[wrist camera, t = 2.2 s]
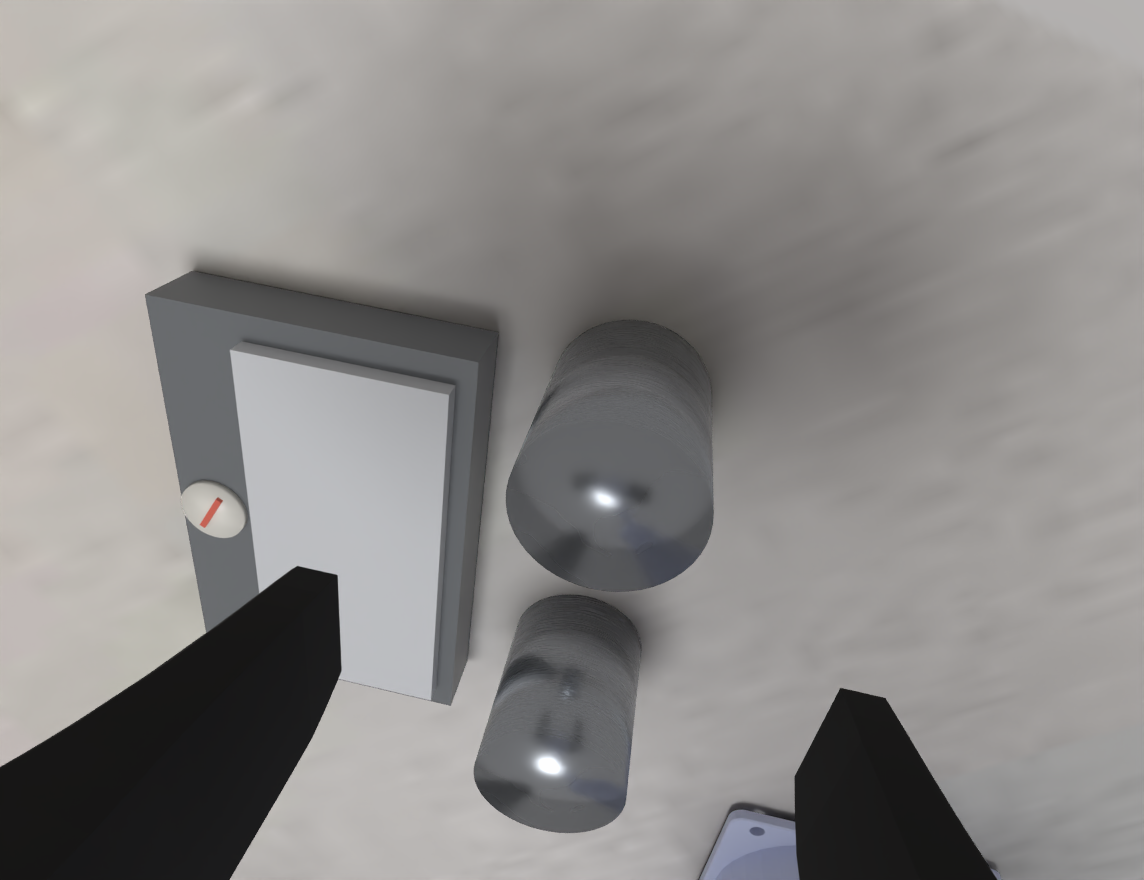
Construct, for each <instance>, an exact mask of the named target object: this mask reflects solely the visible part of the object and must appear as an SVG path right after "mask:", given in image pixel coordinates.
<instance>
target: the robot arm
mask: <svg viewBox="0 0 1144 880" xmlns="http://www.w3.org/2000/svg"><path fill="white" fill-rule="evenodd" d="M341 671H342V666H341V642H340V618H339V594H338V575H336V574H332V573H327V572H323V571H318V570H314V569H309V568H305V567H300V566H296V567H295V568H293V569H291V570H290V571H288V572H287V573H286V574H284V575H283V576H282V577H280V578H279V579H278V580H276V581H275V582H274V583H272V584H271V585H270V586H268V587H267V588H266V589H264V590H263V591H262V592H260V593H259V594H258V595H256V596H255V597H254V598H253V599H251V600H250V601H249V602H247V603H246V604H245V605H243V606H242V607H241V608H239V609H238V610H237V611H235V612H234V613H233V614H231V615H230V616H229V617H227V618H226V619H224V620H223V621H222V622H220V623H219V624H218V625H216V626H215V627H214V628H212V629H211V630H210V631H208V632H207V633H206V634H204V635H203V636H201V637H200V638H199V639H197V640H196V641H194V642H193V643H192V644H190V645H189V646H187V647H186V648H184V649H183V650H182V651H180V652H179V653H177V654H176V655H175V656H173V657H172V658H170V659H169V660H168V661H166V662H165V663H163V664H162V665H161V666H159V667H158V668H156V669H155V670H154V671H152V672H151V673H149V674H148V675H146V676H145V677H143V678H142V679H140V680H139V681H137V682H136V683H134V684H133V685H131V686H130V687H128V688H127V689H125V690H124V691H122V692H121V693H119V694H118V695H116V696H114V697H113V698H111V699H110V700H108V701H107V702H105V703H104V704H102V705H101V706H99V707H98V708H96V709H95V710H93V711H92V712H90V713H89V714H87V715H86V716H84V717H82V718H81V719H79V720H78V721H76V722H75V723H73V724H71V725H70V726H68V727H67V728H65V729H63V730H62V731H60V732H58V733H57V734H55V735H54V736H52V737H50V738H49V739H47V740H45V741H44V742H42V743H40V744H39V745H37V746H35V747H34V748H32V749H30V750H29V751H27V752H25V753H24V754H22V755H20V756H19V757H17V758H15V759H13V760H12V761H10V762H8V763H6V764H5V765H3V766H1V767H0V880H230V878H231V876H232V874H233V873H234V871H235V869H236V868H237V866H238V864H239V863H240V861H241V859H242V857H243V856H244V854H245V852H246V851H247V849H248V847H249V845H250V844H251V842H252V840H253V839H254V837H255V835H256V834H257V832H258V830H259V828H260V827H261V825H262V823H263V822H264V820H265V818H266V817H267V815H268V813H269V811H270V810H271V808H272V806H273V805H274V803H275V801H276V800H277V798H278V796H279V794H280V793H281V791H282V789H283V788H284V786H285V784H286V782H287V781H288V779H289V777H290V775H291V774H292V772H293V770H294V769H295V767H296V765H297V763H298V762H299V760H300V758H301V756H302V755H303V753H304V751H305V749H306V748H307V746H308V744H309V742H310V741H311V739H312V737H313V735H314V733H315V730H316V728H317V726H318V724H319V722H320V719H321V717H322V715H323V713H324V711H325V708H326V706H327V704H328V702H329V699H330V697H331V695H332V692H333V690H334V688H335V685H336V683H337V681H338V678H339V676H340V674H341ZM699 880H1002V879H1001V876H1000V873H998V872H997V871H996V870H993V869H991V868H990V867H989V866H988V864H987V863H986V861H985V859H984V858H983V856H982V855H981V853H980V852H979V850H978V849H977V847H976V845H975V844H974V842H973V841H972V839H971V838H970V836H969V835H968V833H967V832H966V830H965V828H964V827H963V825H962V824H961V822H960V820H959V819H958V817H957V816H956V814H955V812H954V811H953V809H952V807H951V806H950V804H949V803H948V801H947V799H946V798H945V796H944V794H943V793H942V791H941V789H940V788H939V786H938V784H937V783H936V781H935V780H934V778H933V776H932V775H931V773H930V771H929V770H928V768H927V766H926V765H925V763H924V761H923V760H922V758H921V756H920V755H919V753H918V751H917V750H916V748H915V746H914V745H913V743H912V741H911V740H910V738H909V736H908V735H907V733H906V731H905V730H904V728H903V726H902V725H901V723H900V721H899V720H898V718H897V716H896V715H895V713H894V711H893V710H892V708H891V707H890V705H889V703H888V702H887V700H886V698H883V697H878V696H874V695H869V694H865V693H861V692H856V691H852V690H847V689H843V688H840V690H839V692H838V694H837V696H836V698H835V700H834V702H833V703H832V705H831V707H830V709H829V711H828V713H827V715H826V717H825V719H824V721H823V723H822V725H821V727H820V729H819V731H818V732H817V734H816V736H815V738H814V740H813V742H812V744H811V746H810V748H809V750H808V752H807V754H806V756H805V758H804V760H803V761H802V763H801V765H800V767H799V769H798V771H797V773H796V775H795V822H794V821H790V820H786V819H781V818H777V817H773V816H769V815H765V814H760V813H756V812H752V811H748V810H735V811H733V812H731V813H730V814H729V816H728V818H727V820H726V822H725V824H724V827H723V829H722V831H721V833H720V835H719V838H718V840H717V842H716V844H715V846H714V849H713V851H712V853H711V855H710V857H709V860H708V862H707V864H706V866H705V868H704V871H703V873H702V875H701V877H700V879H699Z"/></svg>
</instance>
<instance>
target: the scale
mask: <svg viewBox="0 0 1144 880" xmlns="http://www.w3.org/2000/svg"><path fill="white" fill-rule="evenodd" d="M145 297H146V303H147V308H148V314H149V319H150V325H151V330H152V336H153V341H154V347H155V352H156V358H157V364H158V369H159V375H160V380H161V386H162V391H163V397H164V402H165V408H166V413H167V419H168V424H169V430H170V435H171V441H172V446H173V452H174V457H175V463H176V468H177V474H178V479H179V485H180V490H181V506H182V509H183V512H184V514H185V518H186V523H187V529H188V534H189V540H190V545H191V551H192V556H193V562H194V567H195V573H196V578H197V584H198V589H199V595H200V600H201V606H202V611H203V617H204V623H205V628H206V633H207V632H208V631H210V630H211V629H212V628H214V627H215V626H216V625H218V624H219V623H220V622H222V621H223V620H224V619H226V618H227V617H229V616H230V615H231V614H233V613H234V612H235V611H237V610H238V609H239V608H241V607H242V606H243V605H245V604H246V603H247V602H249V601H250V600H251V599H253V598H254V597H255V596H256V595H258V594H259V593H260V592H262V591H263V590H264V589H266V588H267V587H268V586H270V585H271V584H272V583H274V582H275V581H276V580H278V579H279V578H280V577H282V576H283V575H284V574H286V573H287V572H288V571H290V570H291V569H293V568H295V567H296V566H300V567H305V568H309V569H314V570H318V571H323V572H327V573H332V574H336V575H338V594H339V618H340V642H341V666H342V671H341V674H340V676H339V678H338V679H339V680H344V681H348V682H352V683H356V684H361V685H365V686H369V687H373V688H378V689H382V690H386V691H390V692H395V693H399V694H403V695H407V696H412V697H416V698H420V699H424V700H429V701H433V702H437V703H441V704H446V705H450V706H451V703H452V701H453V698H454V695H455V693H456V690H457V687H458V685H459V682H460V679H461V676H462V674H463V671H464V668H465V666H466V663H467V656H468V646H469V635H470V625H471V615H472V604H473V594H474V583H475V573H476V562H477V552H478V541H479V531H480V520H481V510H482V500H483V489H484V479H485V468H486V458H487V447H488V437H489V426H490V416H491V405H492V395H493V385H494V374H495V364H496V353H497V343H498V332H494V331H489V330H484V329H479V328H474V327H469V326H464V325H459V324H454V323H449V322H444V321H439V320H434V319H429V318H424V317H419V316H414V315H409V314H404V313H399V312H394V311H389V310H384V309H379V308H374V307H369V306H364V305H360V304H355V303H350V302H345V301H340V300H335V299H330V298H325V297H320V296H315V295H310V294H305V293H300V292H295V291H290V290H285V289H280V288H275V287H270V286H265V285H260V284H255V283H250V282H245V281H240V280H235V279H230V278H225V277H220V276H215V275H210V274H205V273H200V272H195V271H191V272H189V273H187V274H185V275H183V276H181V277H179V278H177V279H175V280H173V281H171V282H169V283H167V284H165V285H163V286H161V287H159V288H157V289H155V290H153V291H151V292H149V293H147V294H145Z"/></svg>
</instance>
